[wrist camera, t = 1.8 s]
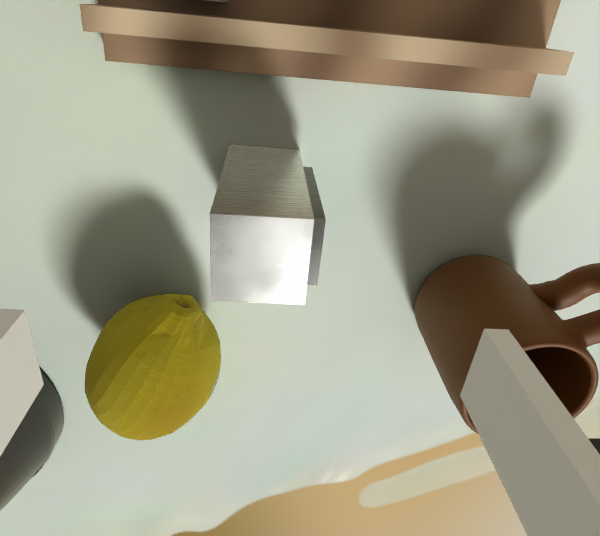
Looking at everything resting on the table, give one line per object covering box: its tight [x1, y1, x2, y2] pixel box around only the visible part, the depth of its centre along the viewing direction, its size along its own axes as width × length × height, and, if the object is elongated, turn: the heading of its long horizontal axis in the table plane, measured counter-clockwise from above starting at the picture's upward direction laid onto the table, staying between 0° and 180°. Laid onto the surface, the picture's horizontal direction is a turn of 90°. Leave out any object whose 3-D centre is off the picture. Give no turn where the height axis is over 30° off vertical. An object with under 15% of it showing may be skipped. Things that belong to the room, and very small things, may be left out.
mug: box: [415, 256, 600, 434], centre depth 27 cm, size 12×8×9 cm, turn 135°
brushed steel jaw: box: [210, 144, 326, 305], centre depth 23 cm, size 5×4×10 cm
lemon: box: [85, 294, 221, 440], centre depth 29 cm, size 11×8×8 cm
